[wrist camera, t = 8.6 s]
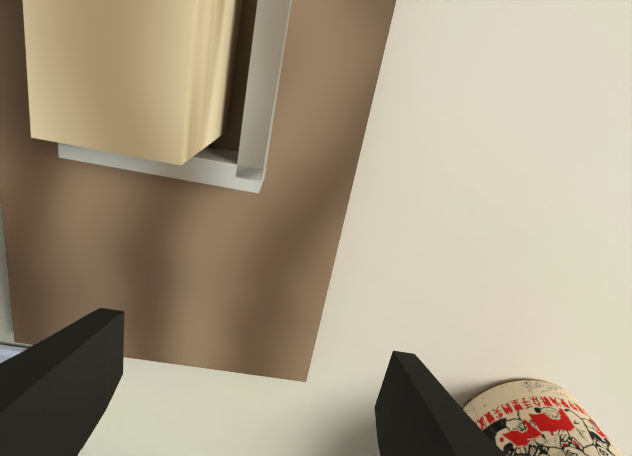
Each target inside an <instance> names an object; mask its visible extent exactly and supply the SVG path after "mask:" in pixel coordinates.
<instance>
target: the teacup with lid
mask: <svg viewBox="0 0 632 456" xmlns="http://www.w3.org/2000/svg"><path fill="white" fill-rule="evenodd" d="M463 410H464V411H465V412H466V413H467V415H468V416H469V417H470V418H471V419H472V420H473V421H474V422H475V423H476V424H477V425H478V426H479V428H480V429H481V430H482V431H483V432H484V433H485V434H486V435H487V436H488V437H489V438H490V439H491V440H492V441H493V442H494V443H495V444H496V445H497V446H498V447H499V448H500V449H501V450H502V451H503V452H504V453H505V454H506V455H507V456H623V455H622V454H621V453H620V451H619V450H618V449H617V448H616V446H615V445H614V444H613V443H612V442H611V440H610V439H609V438H608V437H607V436H606V434H605V433H604V432H603V431H602V430H601V428H600V427H599V426H598V425H597V424H596V422H595V421H594V420H593V419H592V418H591V416H590V415H589V414H588V413H587V411H586V410H585V409H584V408H583V407H582V405H581V404H580V403H579V402H578V401H577V400H576V398H575V397H574V396H573V395H571V394H570V393H569V392H568V391H566V390H565V389H563V388H561V387H559V386H557V385H554V384H551V383H547V382H542V381H535V380H522V381H514V382H509V383H505V384H501V385H498V386H496V387H493V388H491V389H489V390H486V391H485V392H483V393H481V394H480V395H478V396H477V397H475V398H474V399H473V400H471V401H470V402H469V403H468V404H467V405H466V406H465V407H464V408H463Z"/></svg>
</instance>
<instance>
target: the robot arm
mask: <svg viewBox="0 0 632 456" xmlns="http://www.w3.org/2000/svg"><path fill="white" fill-rule="evenodd" d="M123 351H124V311H120V310H113V309H106V308H99V309H97V310H95V311H93V312H91V313H89V314H88V315H86V316H84V317H82V318H81V319H79V320H77V321H75V322H74V323H72V324H70V325H68V326H67V327H65V328H63V329H62V330H60V331H58V332H56V333H55V334H53V335H51V336H49V337H48V338H46V339H44V340H42V341H40V342H39V343H37V344H35V345H33V346H32V347H30V348H21V347H14V346H6V345H0V456H79V455H80V453H81V451H82V448H83V446H84V445H85V443H86V441H87V440H88V438H89V437H90V435H91V433H92V432H93V430H94V429H95V427H96V425H97V424H98V422H99V420H100V419H101V417H102V416H103V414H104V412H105V411H106V408H107V406H108V404H109V402H110V400H111V398H112V396H113V394H114V392H115V390H116V388H117V385H118V383H119V381H120V379H121V377H122V375H123ZM375 417H376V428H377V437H378V446H379V450H380V455H381V456H507V455H506V454H505V453H504V452H503V451H502V450H501V449H500V448H499V447H498V446H497V445H496V444H495V443H494V442H493V441H492V440H491V439H490V438H489V437H488V436H487V435H486V434H485V433H484V432H483V431H482V430H481V429H480V428H479V426H478V425H477V424H476V423H475V422H474V421H473V420H472V419H471V418H470V417H469V416H468V415H467V413H466V412H465V411H464V410H463V409H462V408H461V407H460V406H459V405H458V403H457V402H456V401H455V400H454V399H453V398H452V397H451V395H450V394H449V393H448V392H447V391H446V390H445V388H444V387H443V386H442V385H441V384H440V383H439V381H438V380H437V379H436V378H435V377H434V376H433V374H432V373H431V372H430V371H429V370H428V369H427V367H426V366H425V365H424V364H423V363H422V362H421V361H420V359H419V358H418V357H417V356H416V355H415V354H412V353H405V352H398V351H393V353H392V356H391V359H390V362H389V365H388V368H387V371H386V374H385V377H384V380H383V383H382V386H381V389H380V392H379V396H378V399H377V402H376V405H375Z"/></svg>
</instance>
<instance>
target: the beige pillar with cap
mask: <svg viewBox="0 0 632 456" xmlns="http://www.w3.org/2000/svg"><path fill="white" fill-rule="evenodd" d="M241 9H242V0H23V14H24V30H25V47H26V63H27V79H28V96H29V112H30V129H31V138H36V139H42V140H47V141H52V142H58V143H63V144H69V145H74V146H79V147H85V148H90V149H96V150H101V151H106V152H112V153H117V154H123V155H128V156H133V157H139V158H144V159H149V160H155V161H160V162H166V163H171V164H176V165H182V164H184V163H185V162H186V161H188V160H189V159H190V158H192V157H193V156H194V155H196V154H197V153H198V152H200V151H201V150H202V149H204V148H205V147H207V146H208V145H209V144H211V143H212V142H213V141H215V140H216V139H217V138H219V137H220V136H221V135H223V134H224V133H225V132H227V130H228V121H229V113H230V104H231V95H232V87H233V78H234V69H235V61H236V52H237V43H238V35H239V26H240V17H241Z"/></svg>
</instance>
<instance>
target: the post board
mask: <svg viewBox="0 0 632 456" xmlns="http://www.w3.org/2000/svg"><path fill="white" fill-rule="evenodd" d="M395 3H396V0H242V9H241V17H240V26H239V35H238V43H237V52H236V61H235V69H234V78H233V87H232V95H231V104H230V113H229V121H228V130H227V132H225V133H224V134H223V135H221V136H220V137H219V138H217V139H216V140H215V141H213V142H212V143H211V144H209V145H208V146H207V147H205V148H204V149H202V150H201V151H200V152H198V153H197V154H196V155H194V156H193V157H192V158H190V159H189V160H188V161H186V162H185V163H184V164H182V165H176V164H171V163H166V162H160V161H155V160H149V159H144V158H139V157H133V156H128V155H123V154H117V153H112V152H106V151H101V150H96V149H90V148H85V147H79V146H74V145H69V144H63V143H58V142H52V141H47V140H42V139H36V138H31V129H30V112H29V96H28V79H27V63H26V47H25V30H24V14H23V0H0V193H1V204H2V214H3V224H4V235H5V245H6V256H7V266H8V277H9V287H10V297H11V308H12V318H13V329H14V339H15V342H18V343H25V344H32V345H35V344H37V343H39V342H40V341H42V340H44V339H46V338H48V337H49V336H51V335H53V334H55V333H56V332H58V331H60V330H62V329H63V328H65V327H67V326H68V325H70V324H72V323H74V322H75V321H77V320H79V319H81V318H82V317H84V316H86V315H88V314H89V313H91V312H93V311H95V310H97V309H99V308H106V309H113V310H120V311H124V351H123V357H127V358H134V359H142V360H149V361H156V362H164V363H171V364H178V365H186V366H193V367H200V368H207V369H215V370H222V371H229V372H237V373H244V374H251V375H259V376H266V377H273V378H280V379H288V380H295V381H302V382H306V379H307V375H308V371H309V367H310V362H311V358H312V354H313V350H314V345H315V341H316V337H317V333H318V329H319V324H320V320H321V316H322V312H323V307H324V303H325V299H326V295H327V291H328V286H329V282H330V278H331V274H332V269H333V265H334V261H335V257H336V252H337V248H338V244H339V240H340V236H341V231H342V227H343V223H344V219H345V214H346V210H347V206H348V202H349V198H350V193H351V189H352V185H353V181H354V176H355V172H356V168H357V164H358V159H359V155H360V151H361V147H362V143H363V138H364V134H365V130H366V126H367V121H368V117H369V113H370V109H371V105H372V100H373V96H374V92H375V88H376V83H377V79H378V75H379V71H380V66H381V62H382V58H383V54H384V50H385V45H386V41H387V37H388V33H389V28H390V24H391V20H392V16H393V12H394V7H395Z"/></svg>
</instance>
